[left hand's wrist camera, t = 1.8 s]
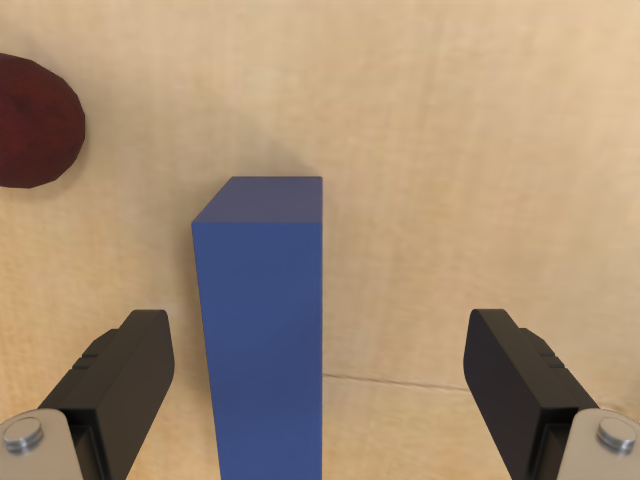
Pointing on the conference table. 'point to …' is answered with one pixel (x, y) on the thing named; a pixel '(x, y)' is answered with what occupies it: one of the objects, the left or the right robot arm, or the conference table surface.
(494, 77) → the conference table surface
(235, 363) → the box
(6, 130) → the potato
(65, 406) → the left robot arm
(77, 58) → the conference table surface
